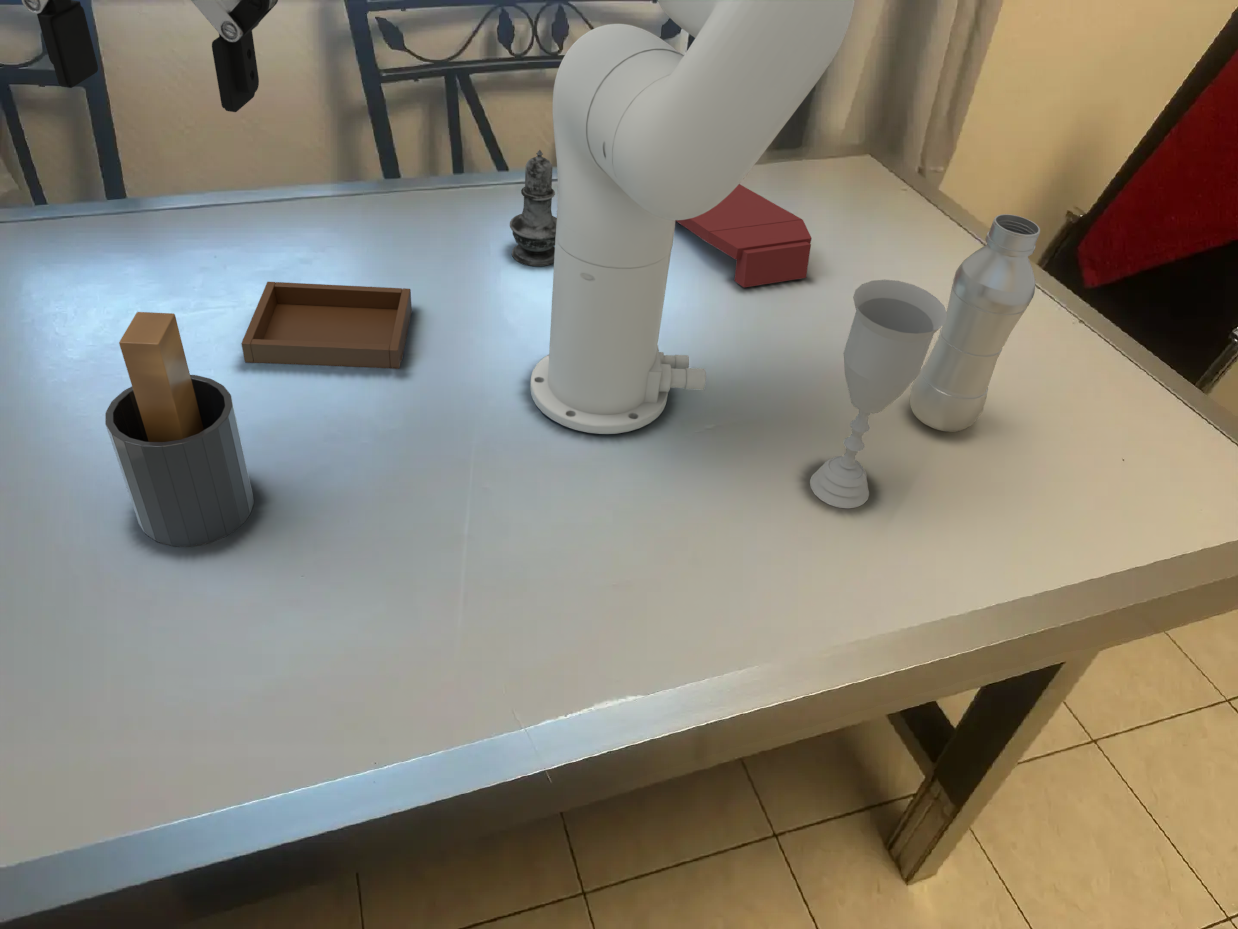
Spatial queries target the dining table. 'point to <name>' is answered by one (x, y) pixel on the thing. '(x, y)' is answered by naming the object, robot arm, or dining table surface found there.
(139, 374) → the wooden block
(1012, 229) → the plastic bottle
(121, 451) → the cup
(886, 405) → the chalice
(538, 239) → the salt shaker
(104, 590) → the dining table surface
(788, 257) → the red chamfered block
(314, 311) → the tray
